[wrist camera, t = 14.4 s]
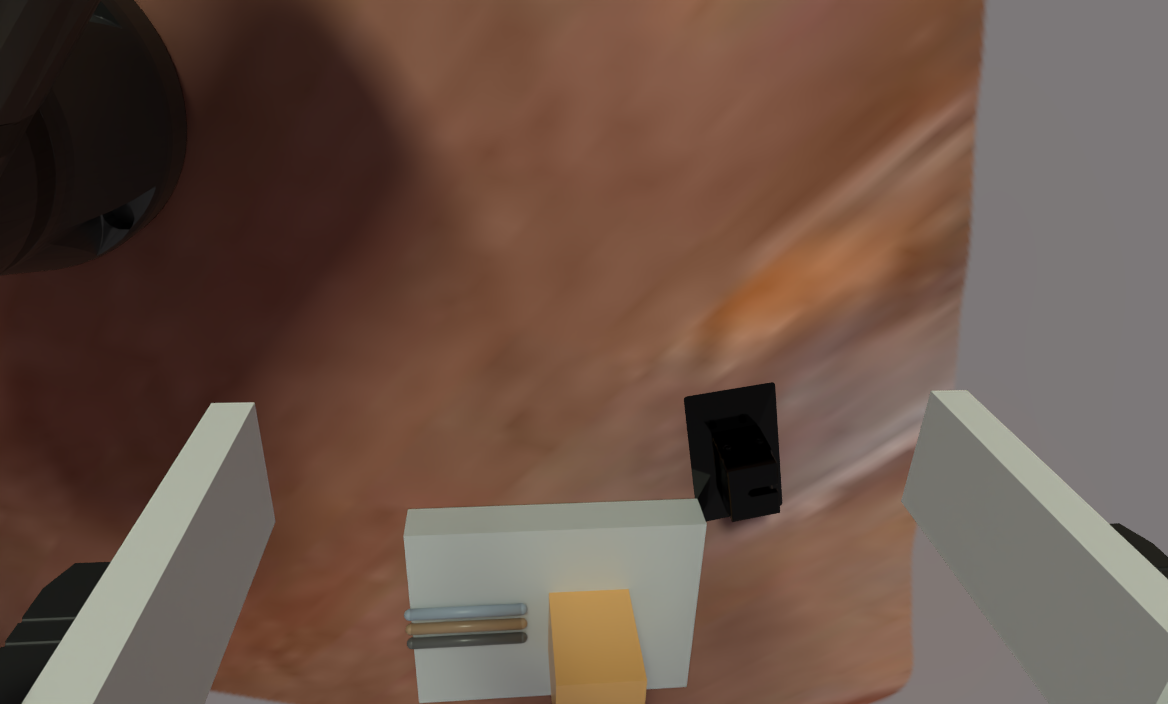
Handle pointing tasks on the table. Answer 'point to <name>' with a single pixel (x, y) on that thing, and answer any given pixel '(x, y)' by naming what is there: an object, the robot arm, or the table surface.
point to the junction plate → (544, 588)
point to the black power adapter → (735, 452)
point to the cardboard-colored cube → (594, 649)
